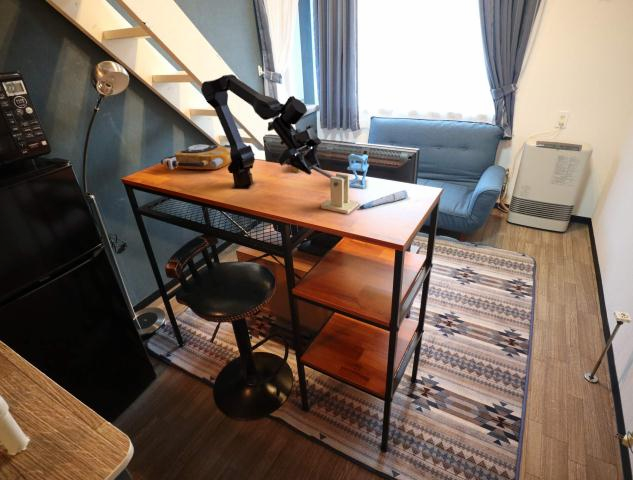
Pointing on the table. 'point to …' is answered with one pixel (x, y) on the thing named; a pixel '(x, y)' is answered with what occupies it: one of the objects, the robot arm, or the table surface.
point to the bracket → (339, 195)
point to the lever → (323, 171)
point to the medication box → (296, 169)
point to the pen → (386, 199)
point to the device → (200, 157)
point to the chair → (358, 168)
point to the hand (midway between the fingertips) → (315, 171)
